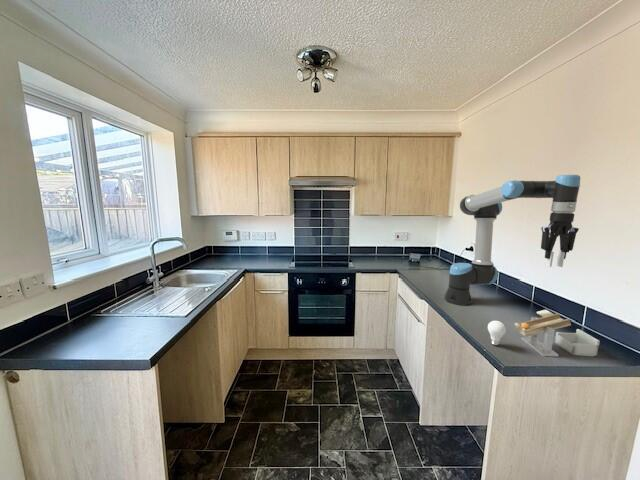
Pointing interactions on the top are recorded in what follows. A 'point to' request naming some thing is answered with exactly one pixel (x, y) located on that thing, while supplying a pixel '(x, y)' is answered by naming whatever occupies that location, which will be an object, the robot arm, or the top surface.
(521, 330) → the lever
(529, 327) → the ball
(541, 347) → the stand
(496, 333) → the light bulb
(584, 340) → the tray
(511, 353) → the top surface
